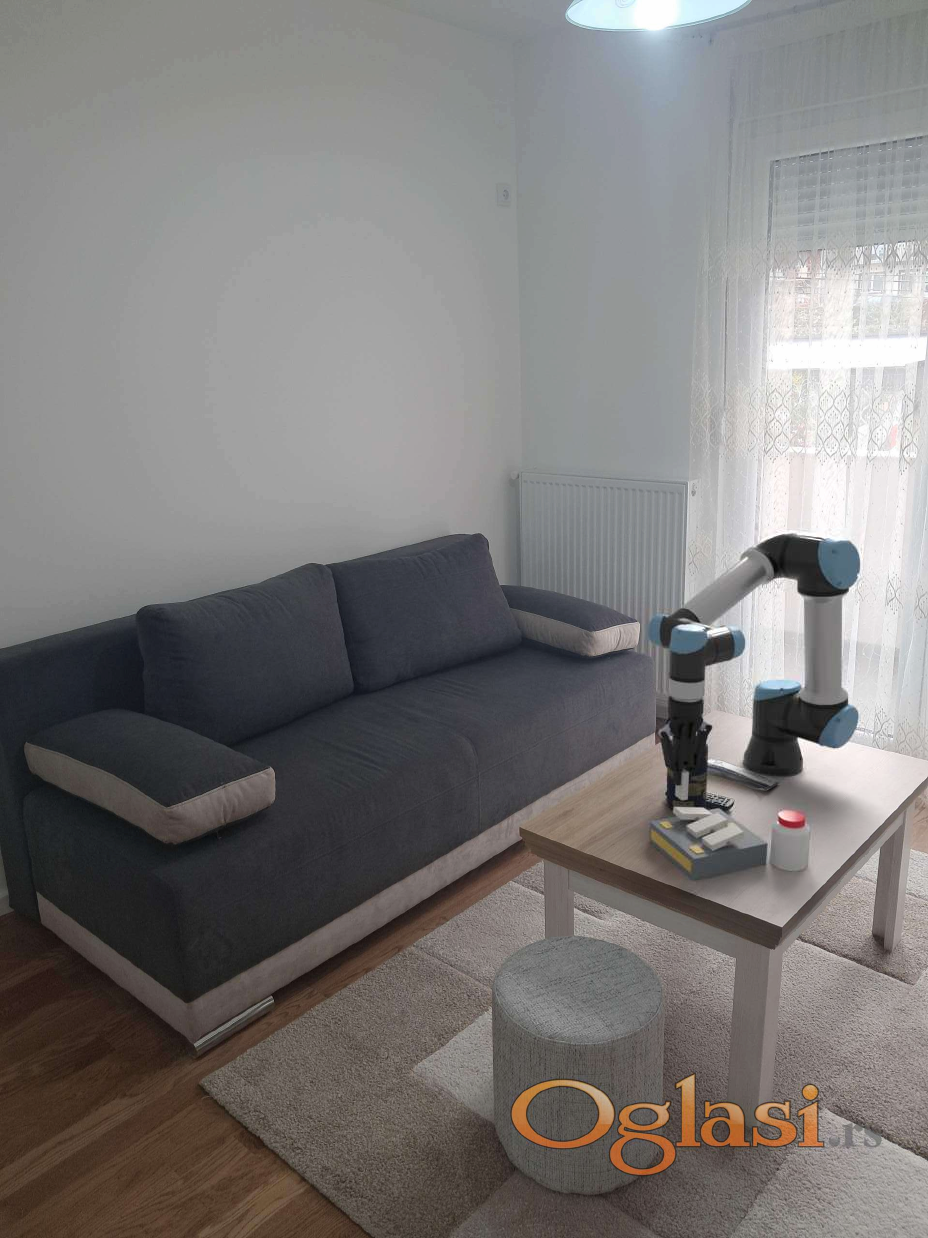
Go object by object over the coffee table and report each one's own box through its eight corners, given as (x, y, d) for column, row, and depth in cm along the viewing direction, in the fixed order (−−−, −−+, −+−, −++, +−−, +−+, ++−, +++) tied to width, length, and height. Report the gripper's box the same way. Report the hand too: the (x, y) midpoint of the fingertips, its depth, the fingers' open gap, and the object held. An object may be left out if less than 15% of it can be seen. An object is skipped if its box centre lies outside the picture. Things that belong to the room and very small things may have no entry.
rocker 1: (701, 814, 214) (703, 807, 214) (711, 822, 210) (713, 815, 210) (671, 813, 211) (673, 806, 211) (681, 821, 208) (683, 814, 207)
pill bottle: (764, 854, 206) (767, 808, 203) (798, 852, 206) (801, 806, 203) (778, 872, 198) (781, 825, 195) (814, 870, 199) (817, 822, 196)
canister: (706, 817, 223) (709, 746, 219) (665, 814, 225) (668, 744, 220) (704, 800, 232) (708, 731, 228) (665, 797, 234) (667, 729, 230)
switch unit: (717, 828, 218) (718, 807, 217) (766, 864, 202) (767, 842, 200) (648, 842, 212) (649, 821, 211) (692, 880, 196) (693, 858, 194)
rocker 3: (733, 830, 203) (732, 823, 202) (745, 839, 199) (744, 832, 199) (702, 843, 201) (701, 837, 200) (713, 853, 197) (712, 846, 197)
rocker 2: (717, 818, 208) (716, 812, 208) (728, 826, 205) (727, 820, 204) (686, 831, 206) (685, 825, 206) (697, 840, 203) (696, 833, 202)
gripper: (702, 687, 208) (697, 786, 214) (650, 694, 204) (646, 795, 210) (722, 698, 201) (716, 799, 207) (668, 705, 197) (664, 809, 203)
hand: (681, 797), depth 209 cm, fingers closed
